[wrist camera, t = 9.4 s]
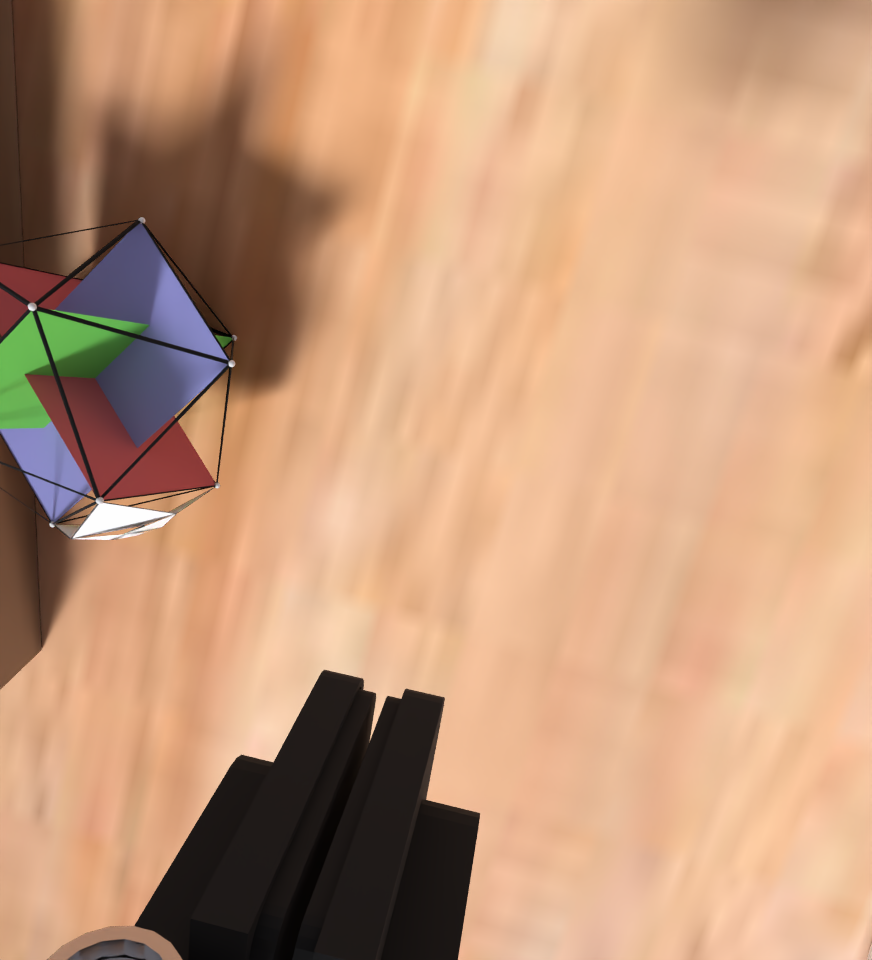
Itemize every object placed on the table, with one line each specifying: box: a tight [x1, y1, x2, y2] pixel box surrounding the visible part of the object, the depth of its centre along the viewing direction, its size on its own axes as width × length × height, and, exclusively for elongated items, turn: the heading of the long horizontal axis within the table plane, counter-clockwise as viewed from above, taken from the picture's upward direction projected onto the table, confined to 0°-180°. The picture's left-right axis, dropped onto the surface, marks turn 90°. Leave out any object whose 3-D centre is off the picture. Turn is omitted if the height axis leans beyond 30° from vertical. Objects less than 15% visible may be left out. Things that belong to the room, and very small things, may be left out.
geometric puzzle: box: [0, 217, 237, 540], centre depth 19 cm, size 7×7×8 cm
